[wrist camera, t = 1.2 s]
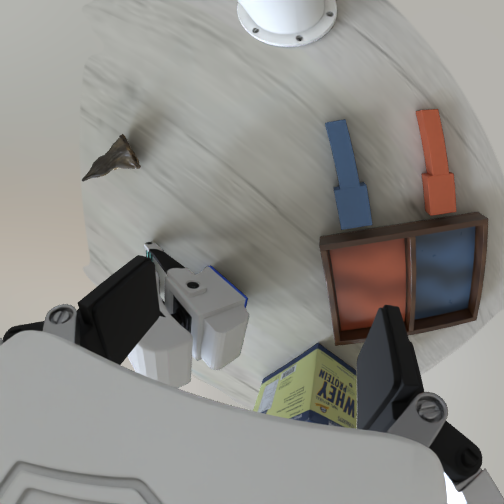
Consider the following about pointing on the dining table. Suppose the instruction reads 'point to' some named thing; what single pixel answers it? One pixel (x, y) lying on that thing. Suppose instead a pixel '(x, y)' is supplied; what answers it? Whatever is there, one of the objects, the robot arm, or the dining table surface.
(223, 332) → the robotic device
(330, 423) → the protein box
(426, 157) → the orange stepped bar
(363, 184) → the blue tall stepped post
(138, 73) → the dining table surface
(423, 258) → the cutlery tray
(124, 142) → the shark head
